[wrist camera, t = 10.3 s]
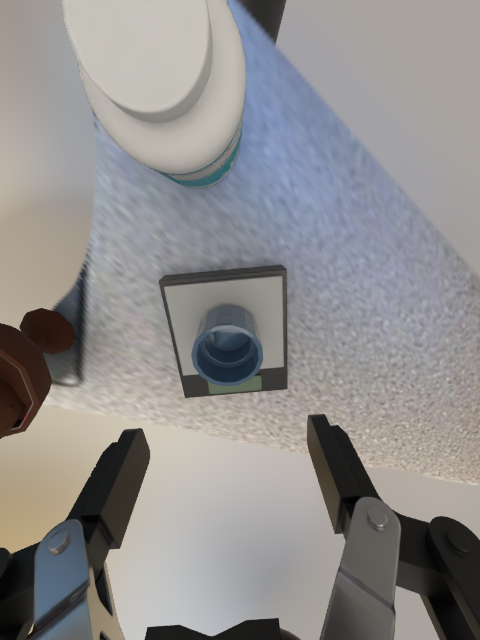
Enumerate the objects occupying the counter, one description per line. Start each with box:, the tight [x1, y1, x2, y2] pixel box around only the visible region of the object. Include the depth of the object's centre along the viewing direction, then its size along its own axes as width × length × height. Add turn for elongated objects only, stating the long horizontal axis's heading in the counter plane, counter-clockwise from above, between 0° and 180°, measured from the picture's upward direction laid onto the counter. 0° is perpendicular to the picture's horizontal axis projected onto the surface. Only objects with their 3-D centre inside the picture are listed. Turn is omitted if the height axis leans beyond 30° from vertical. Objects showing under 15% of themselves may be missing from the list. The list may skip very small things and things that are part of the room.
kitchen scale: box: [159, 265, 288, 398], centre depth 26 cm, size 14×12×3 cm
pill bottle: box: [61, 0, 246, 188], centre depth 14 cm, size 8×7×14 cm
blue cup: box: [191, 305, 263, 386], centre depth 22 cm, size 6×6×5 cm
